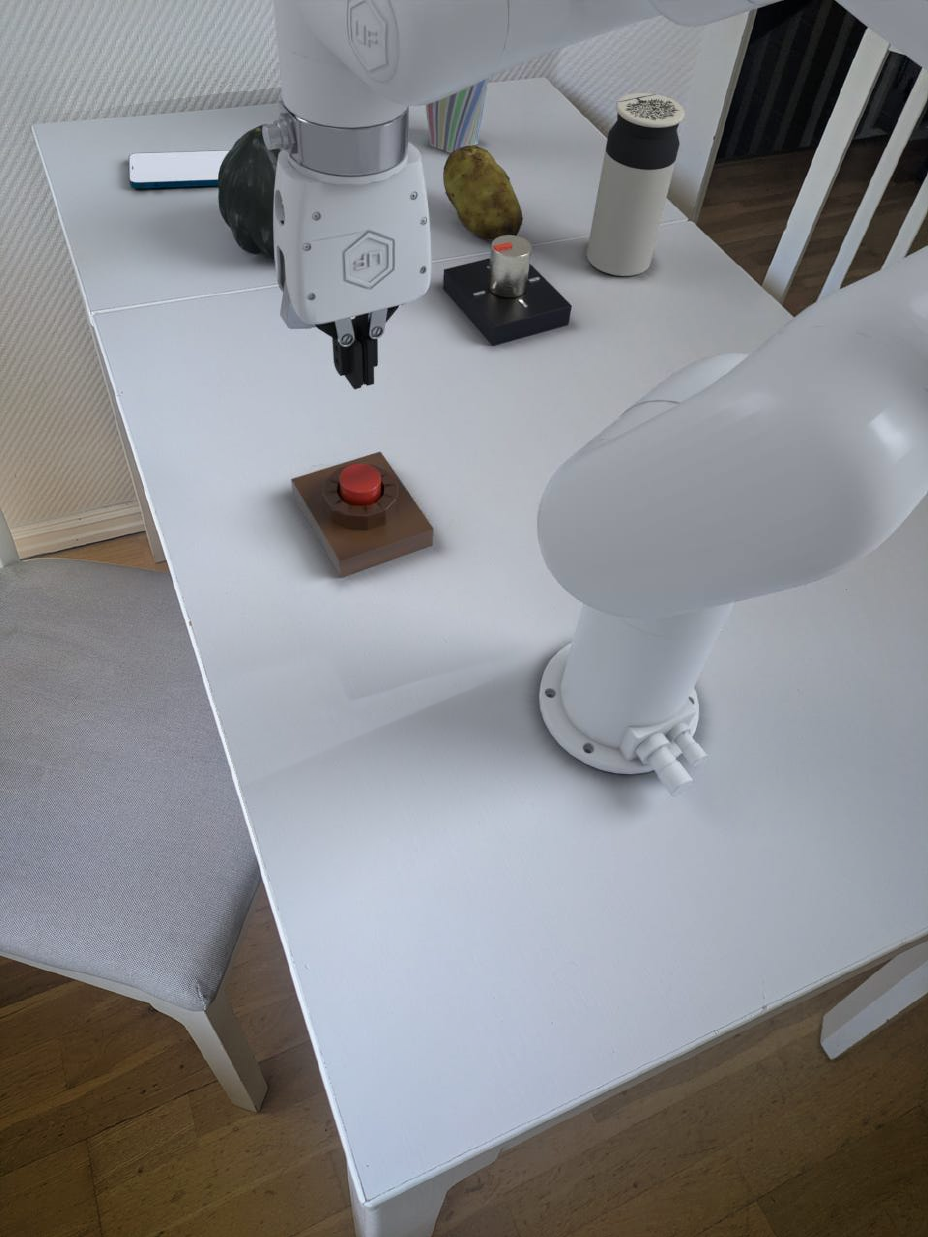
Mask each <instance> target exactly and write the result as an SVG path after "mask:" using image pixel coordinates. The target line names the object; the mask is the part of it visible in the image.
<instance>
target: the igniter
mask: <svg viewBox="0 0 928 1237" xmlns="http://www.w3.org/2000/svg"><path fill="white" fill-rule="evenodd" d="M354 464H366V465H370V466H372V467H374V468H375V469H377V470H378V472H379V473H380V476H381V495H380V497H379V499H378V500H377V501H376V502H375V503H373V504H370V505H367V506H354V505H350V504H348V503H347V502H345V501H344V500H343V498H342V497H341V494H340V481H339V477H340V474H341V472H342V471H343V470H344V469H345V468H347V467H348V466H351V465H354ZM290 482H291V483H290V484H291V490H292V498H293V499H294V500H295V502H296V504H297V505H298V507H299V509H300V510H301V512H302V514H303V516H304V517H305V519H306V521H307V523H308V524H309V526H310V528H311V529H312V531H313V533H314V534H315V536H316V539H317V541H319V544H320V545H321V547H322V548H323V550H324V552H325V554H326V555H327V557H328V559H329V561H330V562H331V565H332V566H333V567H334V569H335V570H336V572H337V574H338V575H339V578H344V577H347V576H350V575H352V574H356V573H359V572H362V571H364V570H367V569H370V568H373V567H375V566H378V565H381V564H384V563H386V562H390V561H392V560H395V559H398V558H400V557H403V556H405V555H409V554H411V553H415V552H417V551H420V550H423V549H426V548H429V547H432V546H433V545H434V529H435V528H434V527H433V526H432V524H431V523H430V520H428V518H427V517H426V515H425V514H424V512H423V511H422V509H421V508H420V507H419V505H418V504H417V502H416V501H415V499H414V498H413V497H412V495H411V494H410V492H409V491H408V489H407V488H406V486H405V485H404V483H403V482H402V480H401V478H400V477H399V476H398V474H397V473H396V472H395V470H394V468H393V467H392V466H391V465H390V462H389V461H388V460H387V459H386V457H385V456H384V454H383V452H382V451H377V452H374V453H370V454H368V455H365V456H360V457H357V458H355V459H354V458H353V459H351V460H348V461H345V462H341V463H338V464H335V465H332V466H329V467H325V468H322V469H319V470H315V471H312V472H309V473H306V474H303V475H299V476H296V477H293V478H291V479H290Z"/></svg>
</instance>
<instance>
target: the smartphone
mask: <svg viewBox="0 0 928 1237" xmlns="http://www.w3.org/2000/svg"><path fill="white" fill-rule="evenodd" d="M230 150H231V149H221V150H220V149H219V150H217V149H216V150H187V151H185V150H184V151H182V150H181V151H154V152H153V151H150V152H148V151H147V152H133V153H130V154H129V155H128V181H129V186H130V187H131V188H133V189H158V188H161V189H162V188H185V187H187V188H189V187H212V186H213V187H215V186H218V173H219V170H220V166H221V164H222V161H223V160H224V158H225V156H226V155H227V154H228V152H229V151H230Z"/></svg>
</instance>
